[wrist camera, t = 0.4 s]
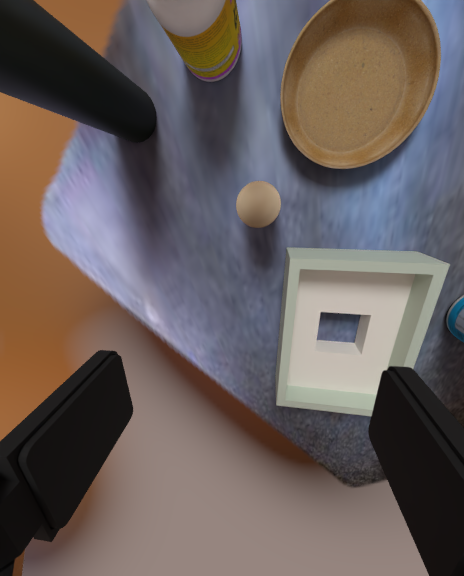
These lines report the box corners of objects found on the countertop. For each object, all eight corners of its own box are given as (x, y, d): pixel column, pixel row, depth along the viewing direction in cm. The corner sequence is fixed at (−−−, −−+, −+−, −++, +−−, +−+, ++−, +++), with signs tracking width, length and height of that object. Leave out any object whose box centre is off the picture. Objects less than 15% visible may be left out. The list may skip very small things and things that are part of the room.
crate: (417, 251, 30) (449, 264, 25) (377, 387, 39) (395, 419, 33) (286, 247, 33) (290, 258, 27) (275, 376, 41) (276, 405, 35)
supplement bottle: (252, 60, 26) (239, -51, 14) (200, 97, 28) (150, 25, 16) (224, -13, 24) (182, -213, 12) (171, 31, 26) (90, -105, 14)
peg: (279, 183, 30) (282, 180, 23) (276, 220, 32) (279, 228, 24) (244, 184, 31) (236, 181, 23) (243, 219, 32) (236, 227, 25)
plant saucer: (289, 5, 24) (291, -16, 22) (448, 1, 22) (469, -22, 20) (272, 168, 30) (272, 165, 27) (398, 174, 28) (410, 172, 26)
